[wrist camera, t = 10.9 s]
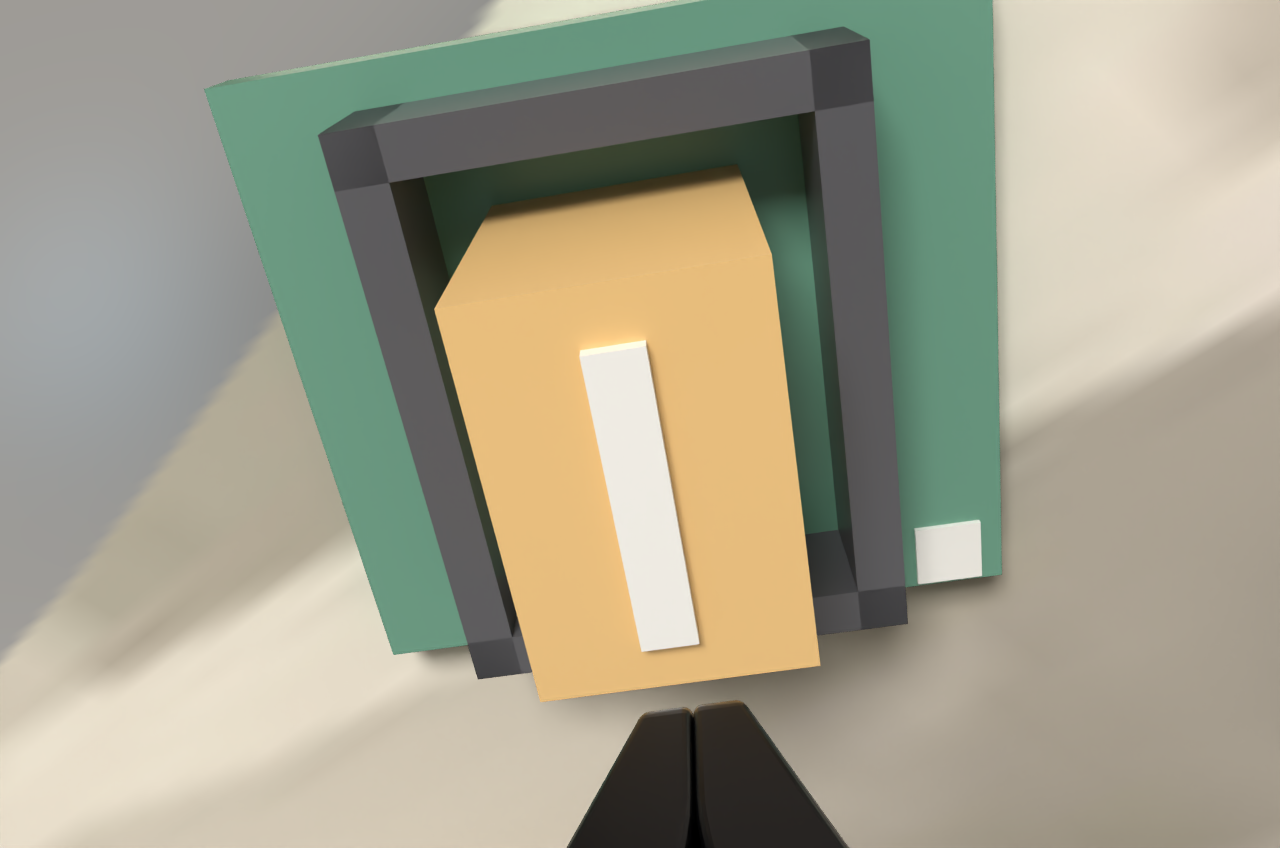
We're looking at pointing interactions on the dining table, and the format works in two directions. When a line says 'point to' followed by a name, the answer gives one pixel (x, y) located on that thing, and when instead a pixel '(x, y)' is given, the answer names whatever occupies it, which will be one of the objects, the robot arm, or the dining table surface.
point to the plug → (635, 433)
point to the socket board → (627, 152)
